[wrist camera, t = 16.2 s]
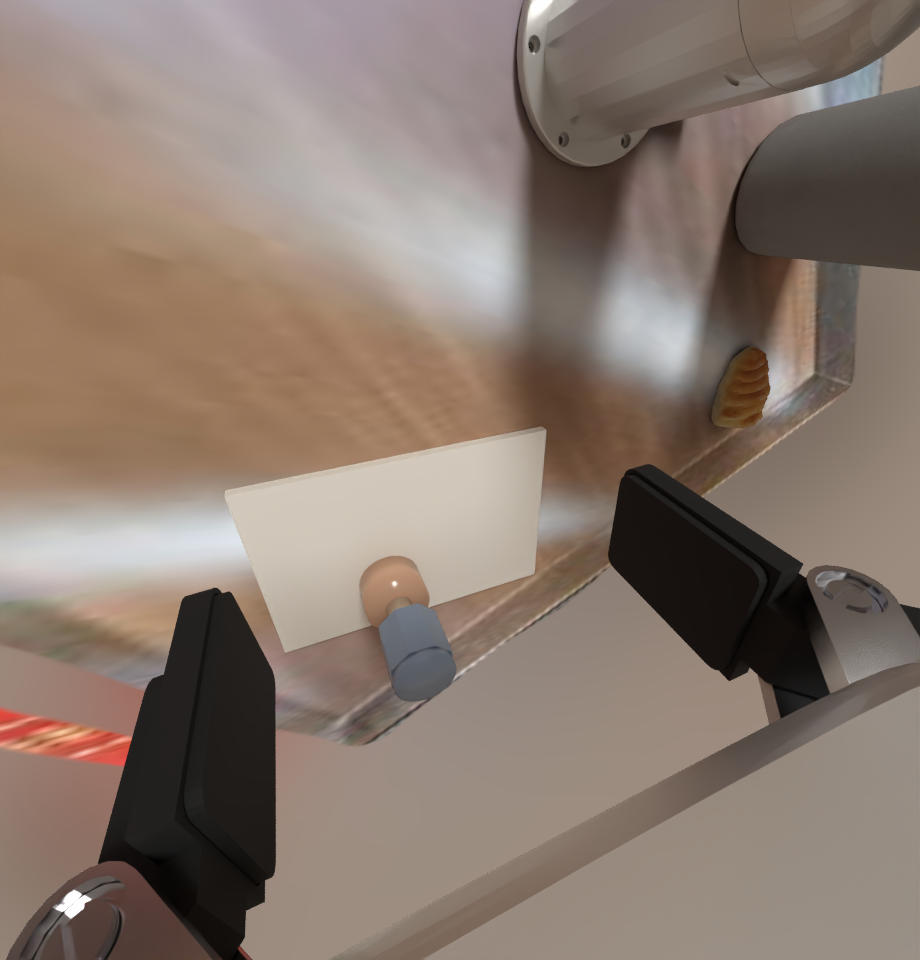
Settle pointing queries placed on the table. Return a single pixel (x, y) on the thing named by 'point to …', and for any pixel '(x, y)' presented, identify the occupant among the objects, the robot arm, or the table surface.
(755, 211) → the canister
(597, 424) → the table surface
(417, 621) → the cap
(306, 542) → the board
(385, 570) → the round stamp handle
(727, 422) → the pastry
